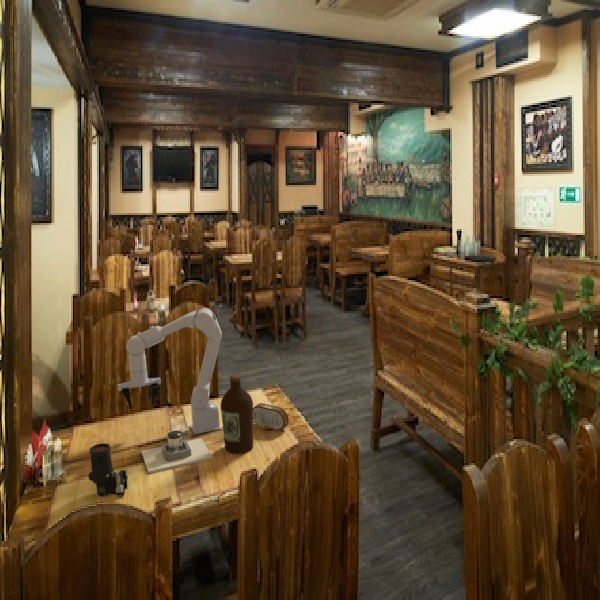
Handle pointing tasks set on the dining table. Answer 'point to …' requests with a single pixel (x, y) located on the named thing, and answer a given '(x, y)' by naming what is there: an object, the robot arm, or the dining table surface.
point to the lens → (175, 441)
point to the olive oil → (237, 418)
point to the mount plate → (175, 456)
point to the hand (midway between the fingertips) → (141, 406)
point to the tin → (270, 416)
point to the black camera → (106, 472)
